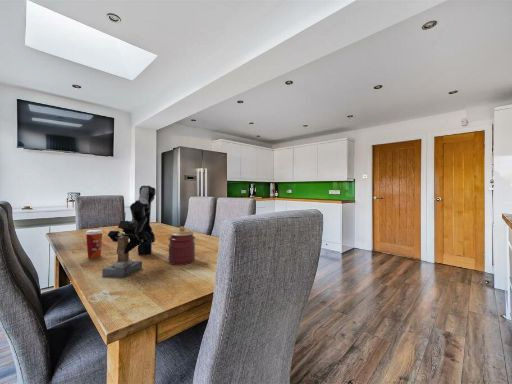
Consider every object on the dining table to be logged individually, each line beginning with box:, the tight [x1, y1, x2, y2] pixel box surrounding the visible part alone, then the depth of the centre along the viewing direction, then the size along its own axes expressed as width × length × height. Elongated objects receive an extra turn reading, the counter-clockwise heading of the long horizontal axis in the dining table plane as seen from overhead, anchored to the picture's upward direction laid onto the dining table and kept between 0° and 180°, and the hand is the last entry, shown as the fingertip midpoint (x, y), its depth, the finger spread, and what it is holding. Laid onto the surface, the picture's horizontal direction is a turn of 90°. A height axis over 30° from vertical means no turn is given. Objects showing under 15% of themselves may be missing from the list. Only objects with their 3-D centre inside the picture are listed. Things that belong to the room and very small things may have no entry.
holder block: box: [101, 260, 143, 278], centre depth 104 cm, size 12×10×3 cm
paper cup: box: [85, 229, 104, 259], centre depth 127 cm, size 8×8×14 cm
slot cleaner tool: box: [113, 236, 133, 268], centre depth 104 cm, size 6×4×14 cm, turn 173°
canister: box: [168, 225, 196, 266], centre depth 120 cm, size 13×13×18 cm
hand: (121, 253), depth 102 cm, fingers closed on slot cleaner tool, 3 cm apart
